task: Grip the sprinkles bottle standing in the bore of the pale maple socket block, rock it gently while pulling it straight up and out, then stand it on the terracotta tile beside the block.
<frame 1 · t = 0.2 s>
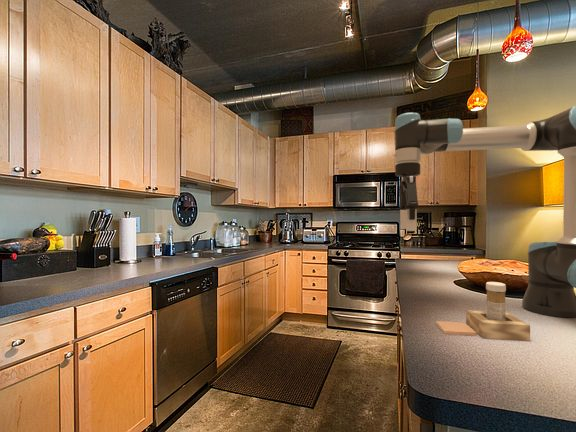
hand: (407, 230, 98), 28 cm above the worktop, tool pointing down, fingers open, 13 cm apart
socket block: (495, 331, 85), on the worktop
terracotta tile: (455, 329, 87), on the worktop
sprinkles bottle: (495, 332, 85), resting in socket block
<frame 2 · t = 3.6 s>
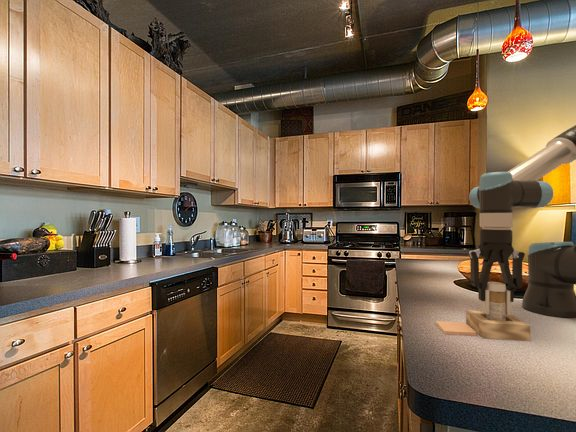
hand: (495, 312, 85), 5 cm above the worktop, tool pointing down, fingers closed on sprinkles bottle, 4 cm apart
sprinkles bottle: (495, 332, 85), resting in socket block, touching gripper
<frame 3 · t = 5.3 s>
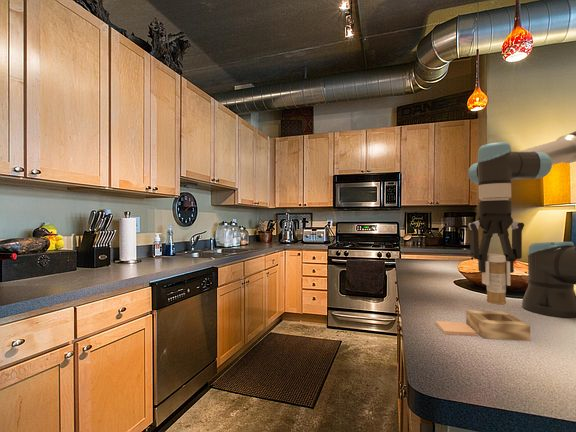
hand: (495, 284, 85), 13 cm above the worktop, tool pointing down, fingers closed on sprinkles bottle, 4 cm apart
sprinkles bottle: (496, 303, 85), point 8 cm above the worktop, touching gripper
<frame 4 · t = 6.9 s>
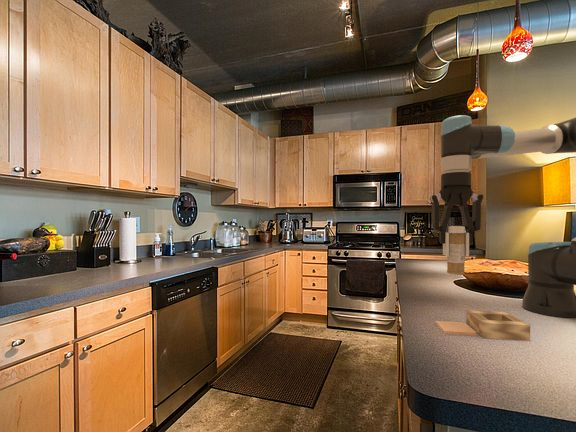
hand: (455, 255, 87), 21 cm above the worktop, tool pointing down, fingers closed on sprinkles bottle, 4 cm apart
sprinkles bottle: (455, 274, 87), point 16 cm above the worktop, touching gripper
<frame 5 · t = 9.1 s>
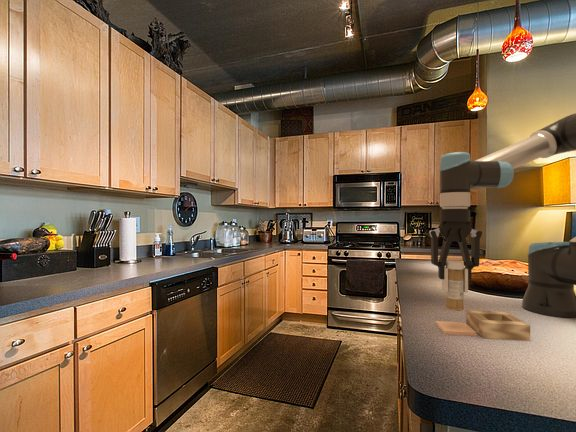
hand: (454, 290, 87), 11 cm above the worktop, tool pointing down, fingers closed on sprinkles bottle, 4 cm apart
sprinkles bottle: (454, 310, 87), point 5 cm above the worktop, touching gripper
when the fingers open (7 cm above the worktop, at t = 10.7 s): sprinkles bottle drops 1 cm, resting on terracotta tile.
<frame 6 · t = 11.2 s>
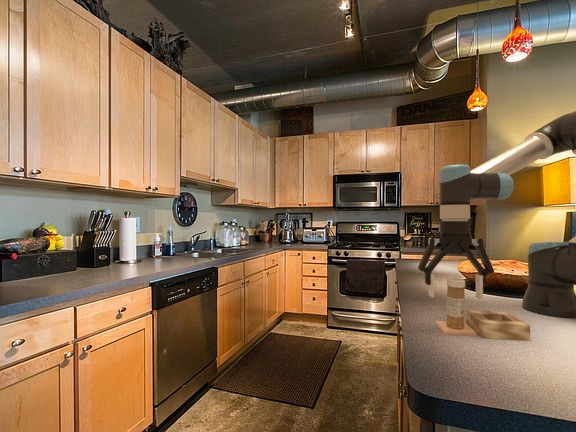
hand: (454, 297, 87), 9 cm above the worktop, tool pointing down, fingers open, 12 cm apart
sprinkles bottle: (455, 327, 87), point 1 cm above the worktop, touching terracotta tile
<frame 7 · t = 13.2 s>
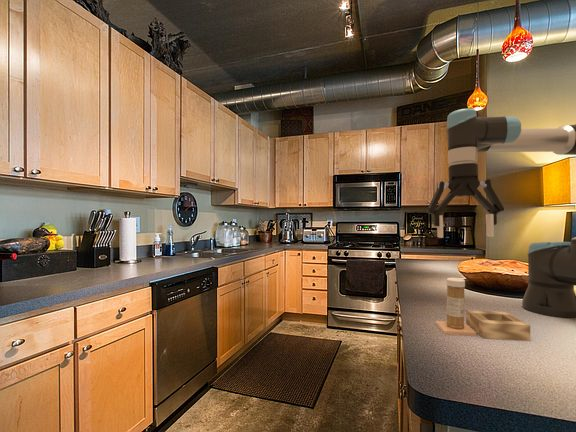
hand: (465, 237, 90), 26 cm above the worktop, tool pointing down, fingers open, 13 cm apart
nothing on the worktop moved.
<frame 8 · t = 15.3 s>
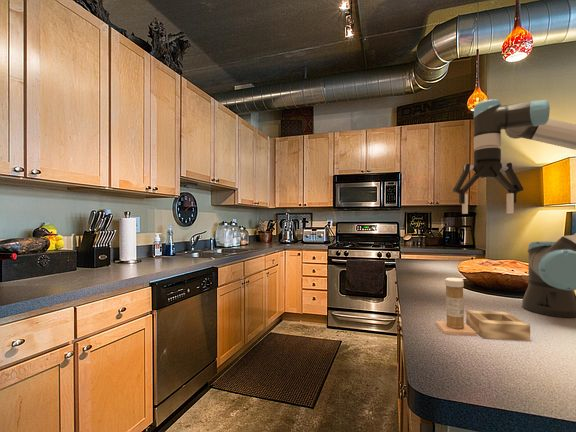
hand: (487, 213, 101), 33 cm above the worktop, tool pointing down, fingers open, 13 cm apart
nothing on the worktop moved.
at the end: sprinkles bottle 0.0 cm off-centre on the terracotta tile, point 0.6 cm above the terracotta tile's base; sprinkles bottle tilted 1°; the gripper is holding nothing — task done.
